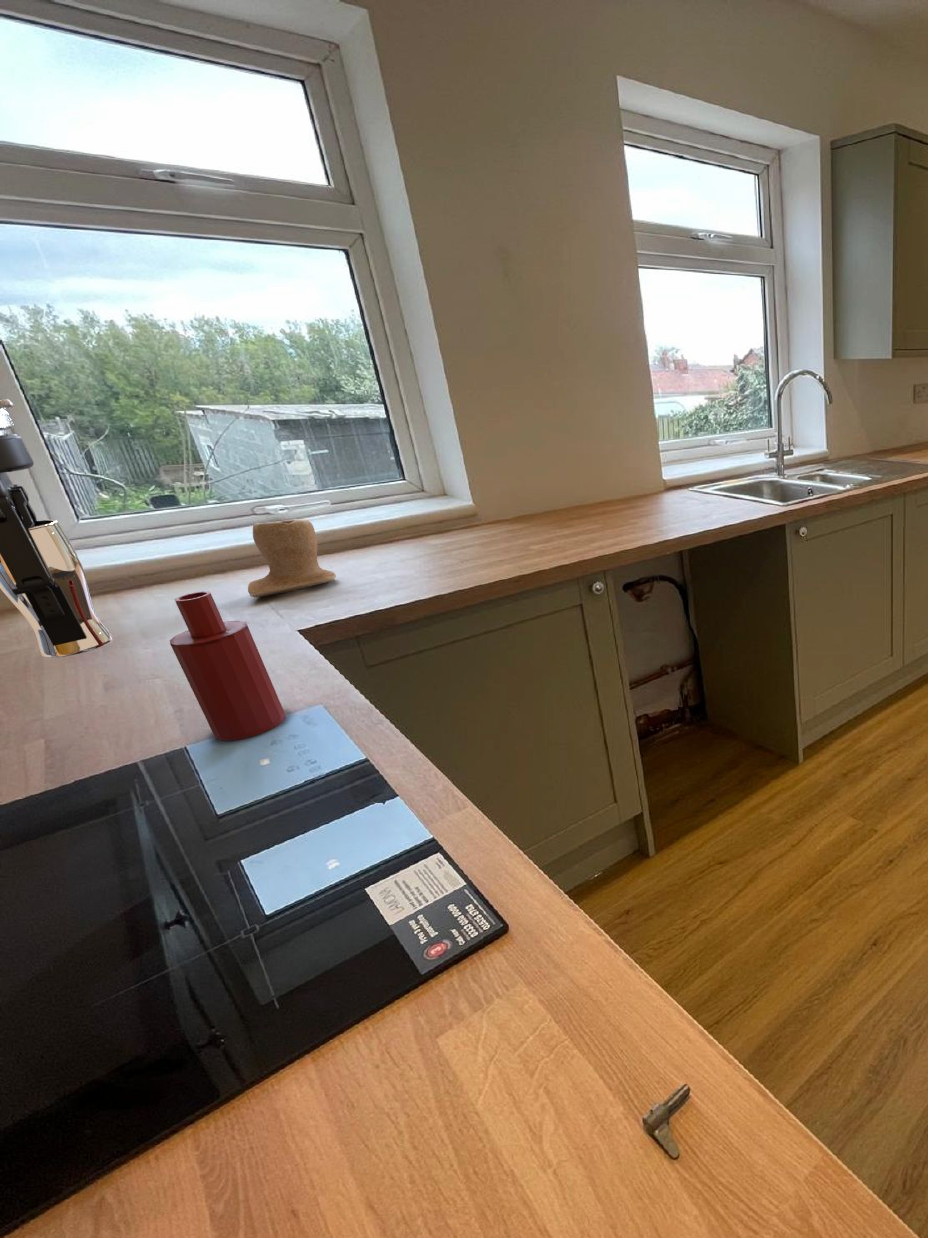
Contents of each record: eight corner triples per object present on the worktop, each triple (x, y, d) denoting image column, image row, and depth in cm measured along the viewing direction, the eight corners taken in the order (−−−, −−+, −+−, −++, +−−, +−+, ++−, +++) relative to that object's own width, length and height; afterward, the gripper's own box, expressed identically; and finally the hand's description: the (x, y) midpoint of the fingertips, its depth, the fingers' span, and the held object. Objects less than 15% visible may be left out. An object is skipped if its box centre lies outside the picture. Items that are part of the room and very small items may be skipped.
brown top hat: (333, 573, 156) (310, 509, 150) (340, 585, 147) (316, 518, 141) (250, 590, 147) (222, 523, 141) (253, 604, 138) (223, 533, 133)
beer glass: (62, 641, 84) (-1, 523, 78) (131, 632, 86) (75, 516, 80) (21, 664, 78) (-52, 537, 72) (96, 653, 79) (32, 529, 74)
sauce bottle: (217, 747, 87) (152, 612, 80) (213, 727, 92) (151, 597, 85) (289, 724, 92) (234, 594, 84) (281, 705, 97) (228, 581, 89)
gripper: (9, 437, 68) (115, 645, 77) (25, 426, 80) (114, 606, 90) (-110, 447, 63) (17, 667, 72) (-73, 434, 76) (32, 623, 85)
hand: (71, 633), depth 81 cm, fingers closed on beer glass, 6 cm apart
